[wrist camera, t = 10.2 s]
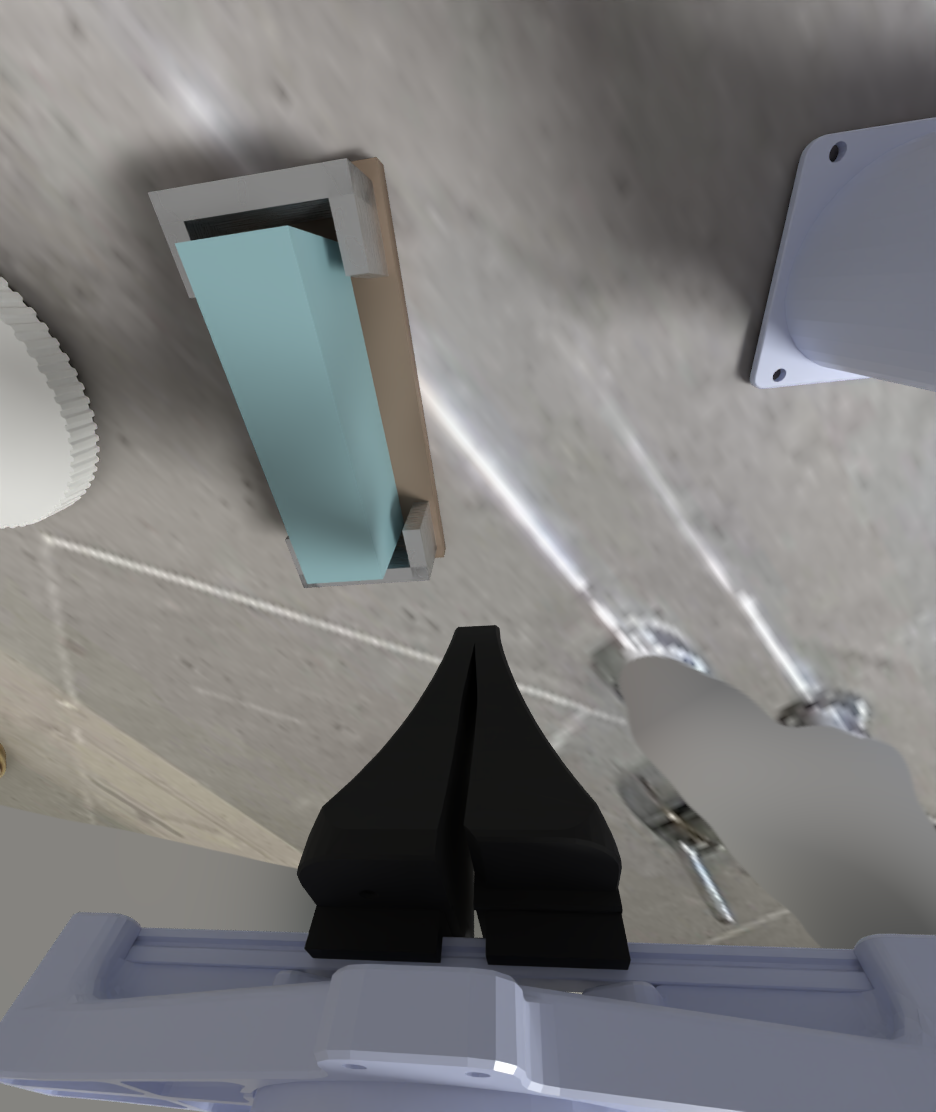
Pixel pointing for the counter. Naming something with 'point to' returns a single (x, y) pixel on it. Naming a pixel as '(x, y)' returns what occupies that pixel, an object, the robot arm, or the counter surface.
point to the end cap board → (392, 360)
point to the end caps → (363, 256)
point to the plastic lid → (39, 420)
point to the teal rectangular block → (303, 392)
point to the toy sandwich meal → (2, 761)
